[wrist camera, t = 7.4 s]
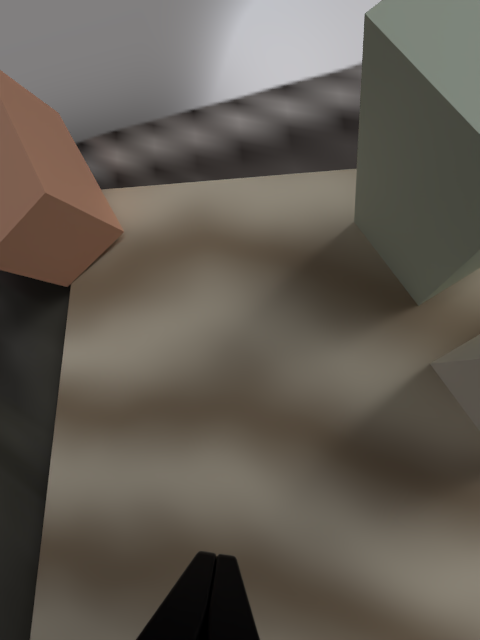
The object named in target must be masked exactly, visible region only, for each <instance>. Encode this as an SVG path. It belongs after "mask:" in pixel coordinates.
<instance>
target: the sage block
mask: <svg viewBox="0 0 480 640" xmlns="http://www.w3.org/2000/svg"><path fill="white" fill-rule="evenodd" d="M354 222H355V224H356V225H357V226H358V227H359V229H360V230H361V231H362V233H363V234H364V235H365V237H366V238H367V239H368V241H369V242H370V243H371V244H372V246H373V247H374V248H375V250H376V251H377V252H378V254H379V255H380V256H381V258H382V259H383V260H384V261H385V263H386V264H387V265H388V267H389V268H390V269H391V271H392V272H393V273H394V275H395V276H396V277H397V278H398V280H399V281H400V282H401V284H402V285H403V286H404V288H405V289H406V290H407V292H408V293H409V294H410V296H411V297H412V298H413V299H414V301H415V302H416V303H417V305H418V306H419V305H421V304H422V303H424V302H425V301H427V300H429V299H430V298H432V297H433V296H435V295H437V294H438V293H440V292H442V291H443V290H445V289H446V288H448V287H450V286H451V285H453V284H454V283H456V282H458V281H459V280H461V279H463V278H464V277H466V276H467V275H469V274H471V273H472V272H474V271H475V270H477V269H479V268H480V0H382V1H380V2H379V3H378V4H377V5H375V6H374V7H373V8H371V9H370V10H369V11H368V12H366V13H365V21H364V41H363V60H362V78H361V98H360V117H359V136H358V156H357V175H356V194H355V214H354Z"/></svg>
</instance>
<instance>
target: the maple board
mask: <svg viewBox="0 0 480 640" xmlns="http://www.w3.org/2000/svg"><path fill="white" fill-rule="evenodd" d="M356 175H357V169H348V170H335V171H323V172H311V173H299V174H287V175H275V176H262V177H250V178H238V179H226V180H214V181H202V182H190V183H177V184H165V185H153V186H141V187H129V188H117V189H104V190H101V191H102V192H103V194H104V196H105V198H106V200H107V201H108V203H109V205H110V207H111V209H112V210H113V212H114V214H115V216H116V218H117V219H118V221H119V223H120V225H121V227H122V228H123V230H124V233H123V234H121V235H120V236H119V237H118V238H117V239H116V240H115V241H114V242H113V243H112V244H111V245H110V246H109V247H108V248H107V249H106V250H105V251H104V252H103V253H102V254H101V255H100V256H99V257H98V258H97V259H96V260H95V261H94V262H93V263H92V264H91V265H90V266H89V267H88V268H87V269H86V270H85V271H84V272H83V273H81V274H80V275H79V276H78V277H77V278H76V279H75V280H74V281H73V282H72V283H71V290H70V299H69V307H68V316H67V324H66V333H65V342H64V350H63V359H62V368H61V376H60V385H59V394H58V402H57V411H56V419H55V428H54V437H53V445H52V454H51V463H50V471H49V480H48V488H47V497H46V506H45V514H44V523H43V532H42V540H41V549H40V558H39V566H38V575H37V583H36V592H35V601H34V609H33V618H32V627H31V635H30V640H136V638H137V637H138V636H139V634H140V633H141V631H142V630H143V629H144V627H145V626H146V624H147V623H148V621H149V620H150V619H151V617H152V616H153V614H154V613H155V612H156V610H157V609H158V607H159V606H160V604H161V603H162V602H163V600H164V599H165V597H166V596H167V595H168V593H169V592H170V590H171V589H172V587H173V586H174V585H175V583H176V582H177V580H178V579H179V578H180V576H181V575H182V573H183V572H184V570H185V569H186V568H187V566H188V565H189V563H190V562H191V561H192V559H193V558H194V556H195V555H196V554H197V553H198V552H199V551H207V552H213V553H215V554H216V556H218V554H226V555H233V556H235V557H236V559H237V561H238V565H239V568H240V572H241V575H242V579H243V582H244V586H245V589H246V593H247V596H248V600H249V603H250V607H251V610H252V614H253V617H254V621H255V624H256V627H257V631H258V634H259V638H260V640H480V431H479V430H478V428H477V427H476V426H475V424H474V423H473V421H472V420H471V419H470V417H469V416H468V415H467V413H466V412H465V411H464V409H463V408H462V407H461V405H460V404H459V403H458V401H457V400H456V398H455V397H454V396H453V394H452V393H451V392H450V390H449V389H448V388H447V386H446V385H445V384H444V382H443V381H442V380H441V378H440V377H439V375H438V374H437V373H436V371H435V370H434V369H433V367H432V366H431V365H430V363H432V362H434V361H435V360H437V359H439V358H440V357H442V356H444V355H445V354H447V353H449V352H451V351H452V350H454V349H456V348H457V347H459V346H461V345H462V344H464V343H466V342H467V341H469V340H471V339H473V338H474V337H476V336H478V335H479V334H480V268H479V269H477V270H475V271H474V272H472V273H471V274H469V275H467V276H466V277H464V278H463V279H461V280H459V281H458V282H456V283H454V284H453V285H451V286H450V287H448V288H446V289H445V290H443V291H442V292H440V293H438V294H437V295H435V296H433V297H432V298H430V299H429V300H427V301H425V302H424V303H422V304H421V305H419V306H418V305H417V303H416V302H415V301H414V299H413V298H412V297H411V296H410V294H409V293H408V292H407V290H406V289H405V288H404V286H403V285H402V284H401V282H400V281H399V280H398V278H397V277H396V276H395V275H394V273H393V272H392V271H391V269H390V268H389V267H388V265H387V264H386V263H385V261H384V260H383V259H382V258H381V256H380V255H379V254H378V252H377V251H376V250H375V248H374V247H373V246H372V244H371V243H370V242H369V241H368V239H367V238H366V237H365V235H364V234H363V233H362V231H361V230H360V229H359V227H358V226H357V225H356V224H355V222H354V214H355V194H356Z"/></svg>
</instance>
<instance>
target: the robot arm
mask: <svg viewBox="0 0 480 640" xmlns="http://www.w3.org/2000/svg"><path fill="white" fill-rule="evenodd" d="M136 640H260V638H259V634H258V631H257V627H256V624H255V621H254V617H253V614H252V610H251V607H250V603H249V600H248V596H247V593H246V589H245V586H244V582H243V579H242V575H241V572H240V568H239V565H238V561H237V559H236V557H235V556H233V555H226V554H218V556H216V554H215V553H213V552H207V551H199V552H198V553H197V554H196V555H195V556H194V558H193V559H192V561H191V562H190V563H189V565H188V566H187V568H186V569H185V570H184V572H183V573H182V575H181V576H180V578H179V579H178V580H177V582H176V583H175V585H174V586H173V587H172V589H171V590H170V592H169V593H168V595H167V596H166V597H165V599H164V600H163V602H162V603H161V604H160V606H159V607H158V609H157V610H156V612H155V613H154V614H153V616H152V617H151V619H150V620H149V621H148V623H147V624H146V626H145V627H144V629H143V630H142V631H141V633H140V634H139V636H138V637H137V638H136Z"/></svg>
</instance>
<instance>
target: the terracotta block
mask: <svg viewBox="0 0 480 640" xmlns="http://www.w3.org/2000/svg"><path fill="white" fill-rule="evenodd" d="M123 233H124V230H123V228H122V227H121V225H120V223H119V221H118V219H117V218H116V216H115V214H114V212H113V210H112V209H111V207H110V205H109V203H108V201H107V200H106V198H105V196H104V194H103V192H102V191H101V189H100V187H99V185H98V183H97V182H96V180H95V178H94V176H93V174H92V173H91V171H90V169H89V167H88V165H87V164H86V162H85V160H84V158H83V156H82V155H81V153H80V151H79V149H78V147H77V146H76V144H75V142H74V140H73V138H72V136H71V135H70V133H69V131H68V129H67V127H66V126H65V124H64V122H63V120H62V119H61V117H60V115H59V113H58V112H56V111H55V110H54V109H52V108H51V107H50V106H48V105H47V104H45V103H44V102H43V101H41V100H40V99H39V98H37V97H36V96H35V95H33V94H32V93H31V92H29V91H28V90H26V89H25V88H24V87H22V86H21V85H19V84H18V83H17V82H16V81H14V80H13V79H12V78H10V77H9V76H8V75H6V74H5V73H3V72H2V71H1V70H0V270H2V271H6V272H10V273H14V274H18V275H22V276H26V277H30V278H34V279H37V280H41V281H45V282H49V283H53V284H57V285H61V286H65V287H68V286H69V285H70V284H71V283H72V282H73V281H74V280H75V279H76V278H77V277H78V276H79V275H80V274H81V273H83V272H84V271H85V270H86V269H87V268H88V267H89V266H90V265H91V264H92V263H93V262H94V261H95V260H96V259H97V258H98V257H99V256H100V255H101V254H102V253H103V252H104V251H105V250H106V249H107V248H108V247H109V246H110V245H111V244H112V243H113V242H114V241H115V240H116V239H117V238H118V237H119V236H120V235H121V234H123Z"/></svg>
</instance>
